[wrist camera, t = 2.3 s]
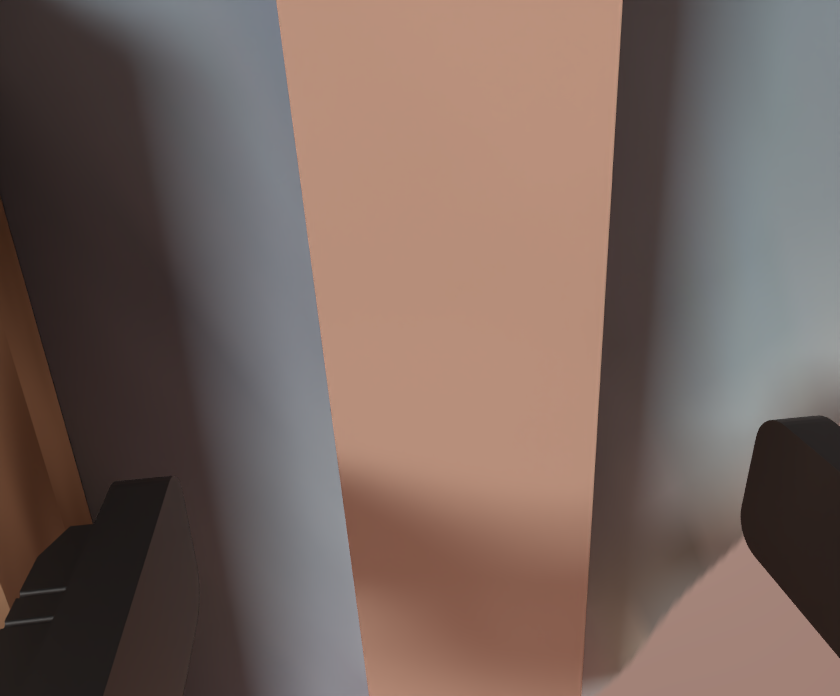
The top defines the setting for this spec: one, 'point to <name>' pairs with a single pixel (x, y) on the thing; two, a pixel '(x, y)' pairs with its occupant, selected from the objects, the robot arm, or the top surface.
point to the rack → (29, 439)
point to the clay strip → (461, 320)
